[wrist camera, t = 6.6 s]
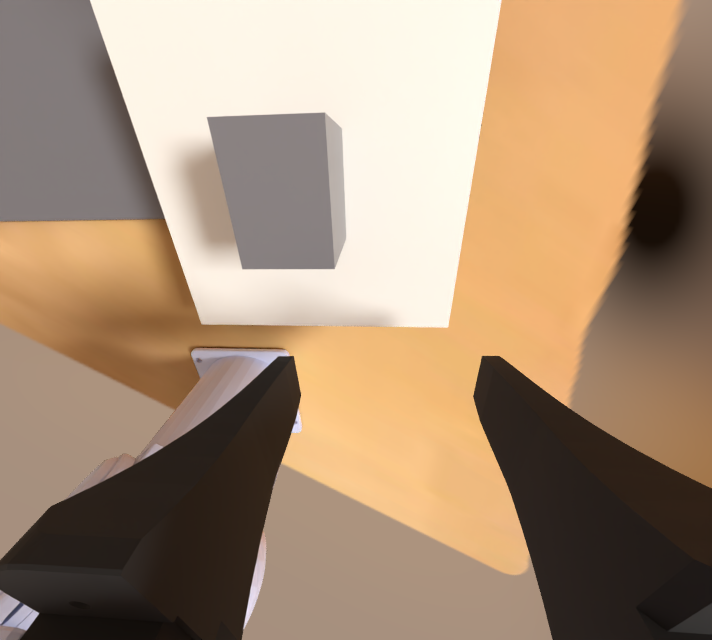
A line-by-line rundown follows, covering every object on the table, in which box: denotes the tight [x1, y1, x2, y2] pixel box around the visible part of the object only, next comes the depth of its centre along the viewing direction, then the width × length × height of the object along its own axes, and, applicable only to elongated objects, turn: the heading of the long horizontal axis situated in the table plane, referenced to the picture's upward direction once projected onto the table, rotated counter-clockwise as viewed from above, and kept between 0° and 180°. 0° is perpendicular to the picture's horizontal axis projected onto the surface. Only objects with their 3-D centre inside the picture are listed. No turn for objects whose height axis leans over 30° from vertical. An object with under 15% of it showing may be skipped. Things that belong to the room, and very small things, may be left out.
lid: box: [90, 0, 501, 327], centre depth 10 cm, size 13×13×5 cm
